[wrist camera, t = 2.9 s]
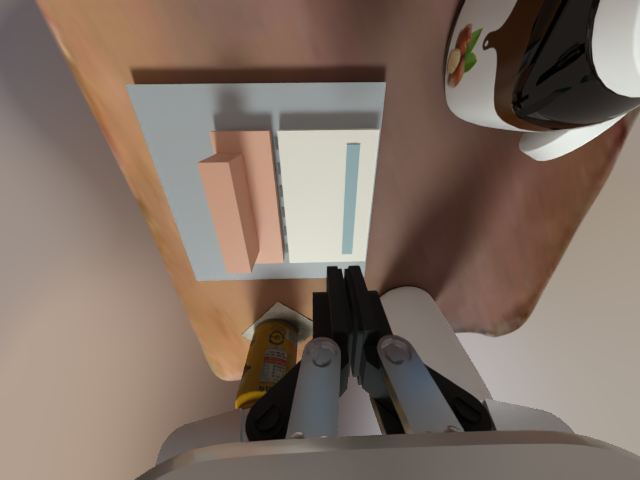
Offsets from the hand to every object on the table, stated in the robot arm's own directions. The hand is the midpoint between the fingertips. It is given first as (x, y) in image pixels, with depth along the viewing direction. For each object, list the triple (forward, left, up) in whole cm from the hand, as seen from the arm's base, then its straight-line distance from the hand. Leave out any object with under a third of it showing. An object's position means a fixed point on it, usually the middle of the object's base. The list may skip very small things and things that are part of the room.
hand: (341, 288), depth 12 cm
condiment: (+18, -6, -12) cm, 23 cm away
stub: (-1, -7, -11) cm, 13 cm away
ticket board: (-1, -5, -12) cm, 13 cm away
